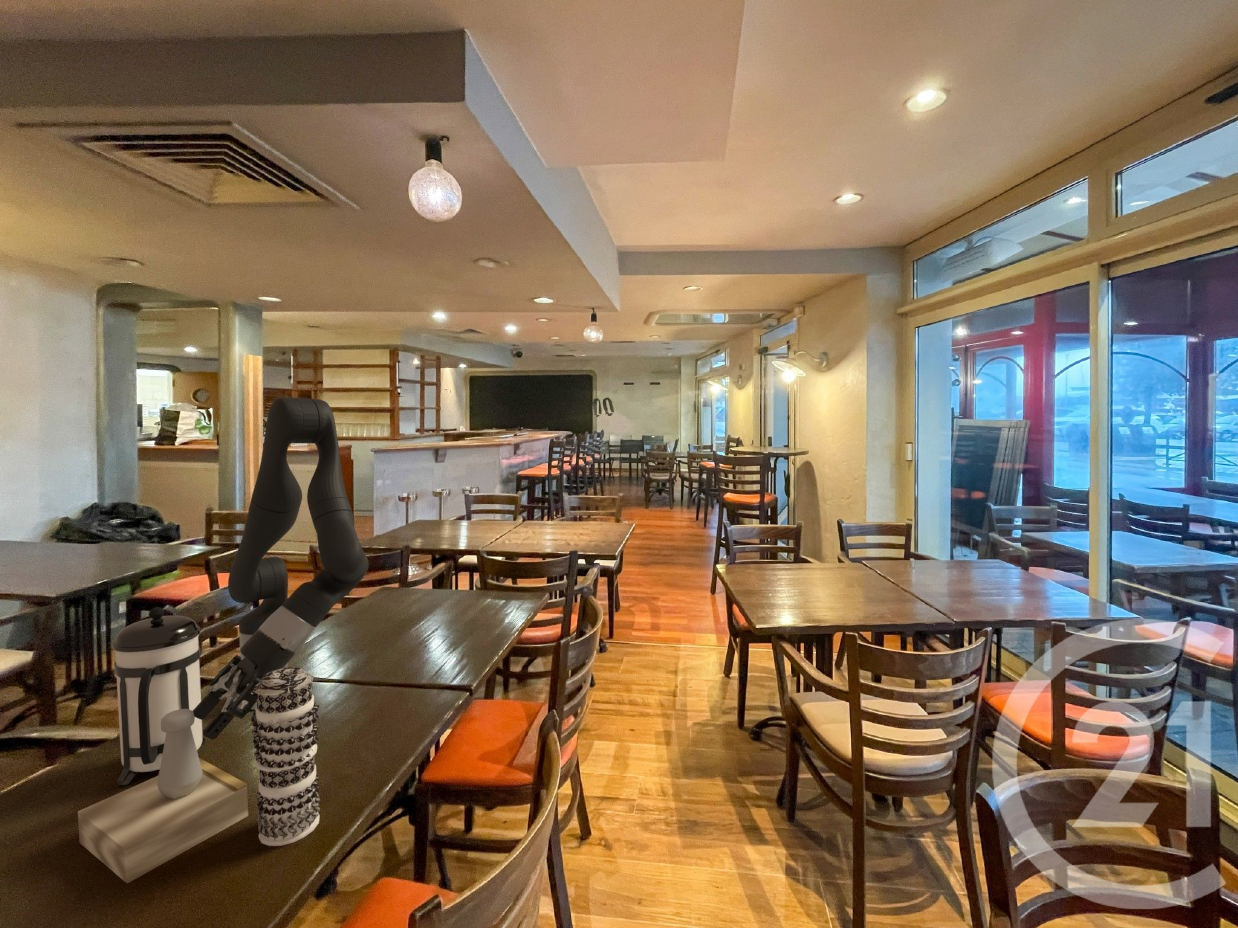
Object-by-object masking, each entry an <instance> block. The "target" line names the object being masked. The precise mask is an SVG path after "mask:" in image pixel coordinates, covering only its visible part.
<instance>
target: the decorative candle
mask: <svg viewBox="0 0 1238 928" xmlns="http://www.w3.org/2000/svg"><path fill="white" fill-rule="evenodd" d="M314 678H315V677H314V675H312V674H311V673H309V672H308V673H307V671H306V670H304V668H301V667H297V666H293V667H291V666H288V668H282V669H278V670H275V671H273V672H270V673H268V674H267V675H266V676H264V677H263V679H262V680H261V682H260V683H258V684H257V685H256V686H255V687H254V691H255V693H256V694H257V707H256V709H255V710H254V711H253V712H252V716H251V717H250V722H251V726H252V727H253V729H252V731H251V734H252V735H253V739H252V743H253V748H254V749H255V752H254V754H253V755H254V757H255V766H256V767H257V769H258V772H259V781H258V791H257V792H256V798H257V803H256V804H257V811H258V812H257V815H256V816H257V822H258V823H257V830H258V832H259V833H258V840H259V841H260V843H261V844H263V845H265V846H268V847H282V846H285V845H289V844H293V843H296V842H297V841H299V840H301V839H303V838H305V837H307V836H308V835H309V834H310V833H312V832H313V831H315V829H316V828H317V826H318V825H319V823H320V814H319V811H320V810H321V808H320V807H319V806H320V804H319V802H320V801H321V799H320V794H318V792H319V790H320V787H319V782H320V778H319V775H318V774H317V765H316V763H315V756H316V754H317V751H318V744H317V743H318V741H319V736H318V735H317V733H318V732H319V726H318V725H317V724H315V723H317V722H318V719H319V717H320V715H319V714H318V713H317V712H318V711H319V708H320V705H319V704H318V703H317V702H315V696H314V694H313V681H314Z"/></svg>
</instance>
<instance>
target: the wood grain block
mask: <svg viewBox="0 0 1238 928" xmlns="http://www.w3.org/2000/svg"><path fill="white" fill-rule="evenodd" d="M199 760H200V764H201V767H202V771H203V773H202V777H201V779H200V782H199V784H198V787H197V788H196V789H195V790H194V791H193V792H192V793H191V794H190V795H187V796H184V797H181V798H178V799H175V800H173V799H167V798H165V797H164V796H163V795H162V793H161V792H160V791H159V789H158V787H157V781H158V776H159V775H157V776H155V777H152V778H150V779H148V780H145V781H144V782H141V783H139V784H136V785H134V786H132V787H130V788H127V789H125V790H123V791H121V792H118V793H116V794H114V795H112V796H110V797H107V798H105V799H103V800H100V801H98V802H96V803H94V804H91V805H89V806H87V807H84V808H82V809H80V810H77V820H78V821H77V823H78V824H77V825H78V835H79V836H78V838H79V840H78V841H79V844H80V845H81V846H83V848H84V849H86V850H88V851H89V852H90V853H91V855H93V856H94V857H96V858H97V860H99V861H100V862H101V863H102V864H103V865H105V866H106V867H107V868H108V869H110V870H111V871H112V872H113V873H114V874H115V875H116V876H117V877H119V878H120V879H121V880H122V881H123V882H124V883H126V884H129V883H131V882H133V881H134V880H136V879H138V878H140V877H142V876H143V875H145V874H147V873H149V872H151V871H153V870H154V869H156V868H157V867H159V866H161V865H164V864H165V863H167V862H168V861H170V860H172V859H174V858H176V857H177V856H179V855H181V854H183V853H184V852H186V851H188V850H190V849H191V848H193V847H195V846H197V845H199V844H200V843H202V842H205V841H206V840H208V839H209V838H211V837H213V836H215V835H217V834H219V833H221V832H222V831H224V830H225V829H227V828H229V827H231V826H233V825H235V824H236V823H238V822H239V821H241V820H243V819H245V818H247V817H249V803H248V801H249V800H248V784H247V783H246V782H245V781H242V780H240V779H239V778H237V777H235V776H233V775H232V774H229V773H227V772H225V771H224V770H222V769H221V768H219V767H217V766H215V765H214V764H212V763H210V762H208V761H206V760H204V759H202V758H200V757H199Z"/></svg>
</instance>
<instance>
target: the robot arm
mask: <svg viewBox="0 0 1238 928" xmlns="http://www.w3.org/2000/svg"><path fill="white" fill-rule="evenodd" d="M333 412H334V411H333V410H332V407H331V406H330V404H329V403H328V402H326V401H325V400H323V399H318V398H317V399H316V398H308V397H307V398H306V397H305V398H303V397H290V396H282V397H277V398H275V400H274V399H273V402H272V403H271V405H270V407H269V410H268V413H267V417H266V423H265V424H266V425H265V432H264V439H263V446H262V453H261V460H260V464H259V467H258V473H257V477H256V481H255V485H254V488H253V491H252V495H251V498H250V501H249V502H250V503H249V506H248V511H247V515H246V521H245V525H244V529H243V533H242V534H243V535H242V537H241V540H240V543H239V546H238V549H237V551H236V554H235V556H234V559H233V562H232V564H231V568H230V569H229V570H230V571H229V573H228V574H229V575H228V581H227V582H228V583H227V588H228V594H229V596H230V598H231V600H233V601H234V602H235V603H239V604H245V603H246V604H247V603H248V604H249V603H253V602H257V601H261V602H260V604H259V605H258V606H257V607H256V608H255V609H253V610H251V611H250V612H248V613H246V614H245V615H243V616H242V617H241V618H240V619H239V623H238V636H239V655H238V654H236V655H234V656H233V657H232V658H231V659H230V661H229V662H228V663H227V664H226V665H225V666H224V667H223V668H222V669H221V670H220V671H219V672H218V673H217V674H216V675H215V677H213V678H212V680H210V682H209V686H210V687H209V689H208V693H207V695H205V696H204V697H203V699H201V702H200V703H199V704H198V705H197V707H196V708H195V709H194V710H193V713H194V717H196V718H198V719H200V720H202V721H203V720H205V719H206V718H207V717H208V716H209V714H211V713H212V711H213V710H214V709H215V707H217V706H218V705H219V703H220V702H221V699H223V698H226V701H225V703H224V705H223V707H222V709H221V710H219V712H218V713H217V714H216V715H215V716H214V717H213V719H212V720H211V721H210V722H209V723H208V724H207V725H206V726H205V728H204V729H202V736H203V737H204V738H208V739H210V740H212V741H213V740H216V739H217V738H218V737H219V736H220V735H221V734H222V732H223V731H224V730H225V729H226V728H227V726H228V725H229V724H230V723H231V721H232V720H233V719H237V718H238V719H240V720H243V718H244V717H246V716H247V714H248V713H249V712H250V710H254V711H255V710H256V707H257V694H256V693H255V691H254V687H255V686H256V685H257V684H258V683H260V682H261V680H262V679H263V677H264V676H266V675H267V674H268V673H270V672H273V671H275V670H278V669H282V668H288V667H289V662H290V661H291V659H292V658H293V657H294V656H295V655H296V653H297V652H298V651H299V650H300V649H301V647H303V645H304V644H305V643H306V642H307V641H308V639H309V637H310V636H311V635H312V633H313V631H315V630H316V628H317V627H318V626H319V624H320V623H321V622H322V621H323V619H324V618H325V617H326V616H327V615H328V614H329V612H330V611H331V610H332V608H333V607H335V605H337V604H338V603H339V602H341V600H342V599H344V597H346V596H347V595H348V594H350V592H352V591H353V590H354V588H356V587H357V586H358V584H359V583H360V582H361V581H362V580H363V579H364V577H365V576H366V574H367V572H368V569H369V559H368V557H367V555H366V553H365V552H364V549H363V548H362V546H361V542H360V540H359V537H358V534H357V531H356V529H355V528H356V527H355V518H354V513H353V511H352V507H351V504H350V501H349V497H348V495H347V494H348V493H347V491H346V488H345V483H344V482H345V481H344V478H343V469H342V464H341V455H340V454H341V453H340V445H339V440H338V432H337V425H336V420H335V416H334V413H333ZM291 444H311V445H312V444H313V445H314V444H315V446H316V449H317V453H318V461H317V465H316V468H315V470H314V472H313V476H312V477H311V480H310V481H309V485H308V488H307V493H306V501H307V502H306V503H307V507H308V511H309V514H310V517H311V520H312V523H313V525H312V526H313V527H314V529H315V533H316V539H317V547H318V553H319V557H320V560H321V564H322V567H323V570H321V571H320V572H319V573H318V574H317V575H316V576H315V577H314V578H313V579H312V580H311V581H305V582H302V583H301V584H300V585H299V586H298V587H297V588H296V589H295V590H294V591H293V592H292V593H291V594H290V596H289V574H288V573H289V572H288V568H287V565H286V563H285V561H284V560H283V559H282V557H278V556H271V557H265V555H266V554H267V553H268V552H269V551H270V550H271V549H272V547H274V546H275V545H276V544H277V543H278V542H279V541H280V540H282V538H283V537H285V535H286V534H287V533H288V532H289V531H290V530H291V529H292V528H293V527H294V525H295V523H296V521H297V519H298V516H299V512H300V508H301V504H302V501H303V492H302V488H301V485H300V484H299V482H298V480H297V478H296V477H295V475H294V474H293V471H292V470H291V468H290V466H289V463H288V461H287V460H288V459H287V458H288V457H287V455H288V449H289V447H290V446H291ZM288 596H289V597H288Z"/></svg>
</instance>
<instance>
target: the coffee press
mask: <svg viewBox="0 0 1238 928" xmlns="http://www.w3.org/2000/svg"><path fill="white" fill-rule="evenodd" d="M165 613H166V612H165V611H164V609H163V608H162V607H160V606H157V607H153V608H151V610H150V611H149V612H148V614H147V615H148V616H149V618H146V619H142V620H139V621H136V622H133V623H131V624H129V625H127V626H125V627H124V628H122V629H121V630H120V631H118V633H117V634H116V636H115V638H114V639H113V641H112V642H111V648H112V650H113V651H114V654H115V655H114V656H115V661H114V664H113V665H114V675H116V688H117V693H116V694H117V705H118V707H117V708H118V725H119V726H118V727H119V742H120V743H119V744H120V758H121V759H120V760H121V765H122V771H121V772H120V773H119V774H120V775H119V776H118V777H117V781H116V784H117V785H120V786H124V787H126V786H128V785H130V784H131V782H132V781H133V780H134V778H135V776H136V775H137V774H138V773H145V772H146V773H148V772H155V771H157V770H159V771H160V765H161V760H162V755H163V749H164V743H165V737H166V733H165V732H162V730H161V719H162V718H163V717H164V716H165V715H166V714H168V713H170V712H172V711H175V710H180V709H190V710H192V711H193V710H194V709H195V708H196V707H197V705H198V704H199V703H200V702H201V701H202V696H201V693H202V691H201V671H200V658H201V646H200V645H199V636H200V633H201V627H200V626H199V625H198V624H197V623H196V621H195V620H194V619H192V618H191V617H189V616H185V615H164V614H165ZM190 727H191V730H192V734H193V738H194V742H195V745H196V749H197V751H198V750H199V749H200V747H202V746H203V745H204V744H205V741H206V737H205V736H204V735H203V733H202V732H203V720H200V719H198V718H196V717H195V721H194V724H193V725H192V726H190ZM129 771H130V773H129Z"/></svg>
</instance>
